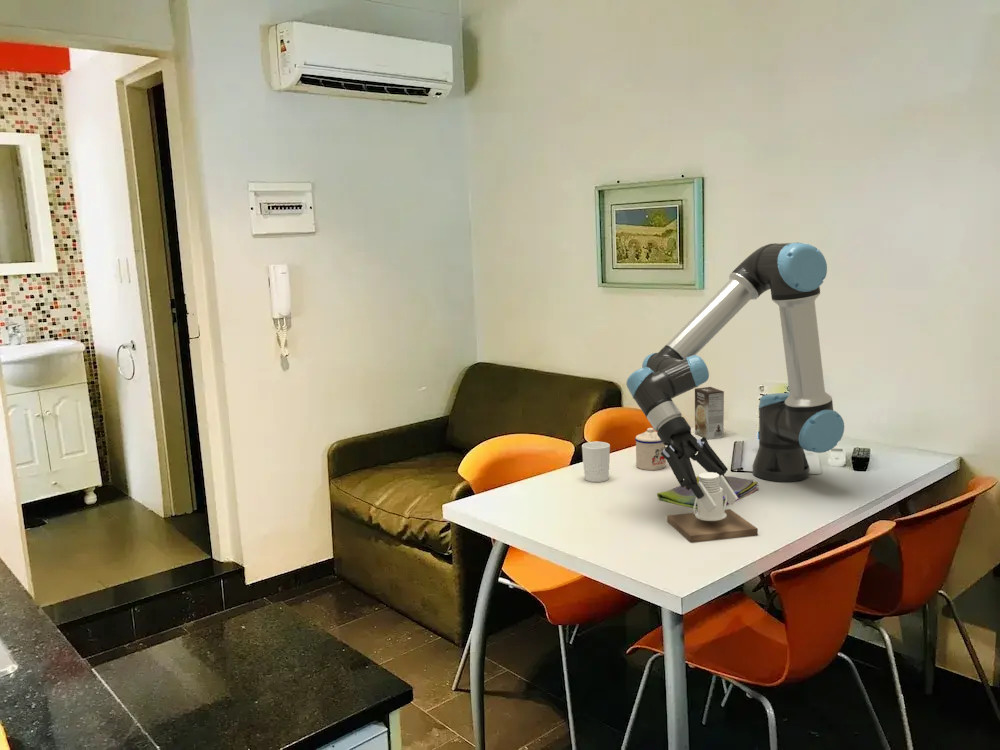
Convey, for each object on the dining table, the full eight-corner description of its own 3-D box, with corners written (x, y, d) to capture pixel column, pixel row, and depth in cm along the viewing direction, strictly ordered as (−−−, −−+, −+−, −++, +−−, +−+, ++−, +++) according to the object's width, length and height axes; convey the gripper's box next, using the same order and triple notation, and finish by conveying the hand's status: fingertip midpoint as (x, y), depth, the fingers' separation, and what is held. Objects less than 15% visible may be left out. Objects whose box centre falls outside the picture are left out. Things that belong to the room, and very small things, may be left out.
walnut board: (729, 515, 194) (729, 509, 194) (757, 534, 180) (757, 528, 180) (667, 521, 192) (667, 515, 191) (690, 542, 178) (690, 535, 178)
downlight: (720, 509, 189) (718, 468, 188) (733, 519, 183) (732, 477, 181) (688, 514, 188) (686, 473, 187) (700, 524, 181) (698, 481, 180)
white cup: (610, 474, 232) (609, 441, 230) (611, 482, 224) (610, 448, 223) (582, 475, 233) (581, 441, 231) (582, 483, 225) (581, 448, 224)
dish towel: (653, 501, 209) (653, 490, 208) (703, 479, 225) (703, 469, 225) (713, 514, 196) (713, 504, 196) (761, 490, 213) (761, 480, 213)
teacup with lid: (656, 472, 232) (655, 433, 230) (629, 467, 238) (628, 429, 236) (677, 463, 241) (676, 425, 239) (651, 458, 247) (650, 421, 245)
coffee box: (693, 434, 275) (693, 388, 273) (710, 432, 277) (710, 386, 274) (707, 439, 267) (707, 392, 264) (724, 437, 268) (724, 390, 266)
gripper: (689, 426, 201) (742, 504, 190) (632, 440, 190) (684, 523, 179) (705, 408, 196) (760, 487, 185) (647, 422, 185) (702, 506, 174)
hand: (723, 505), depth 182 cm, fingers closed on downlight, 7 cm apart
